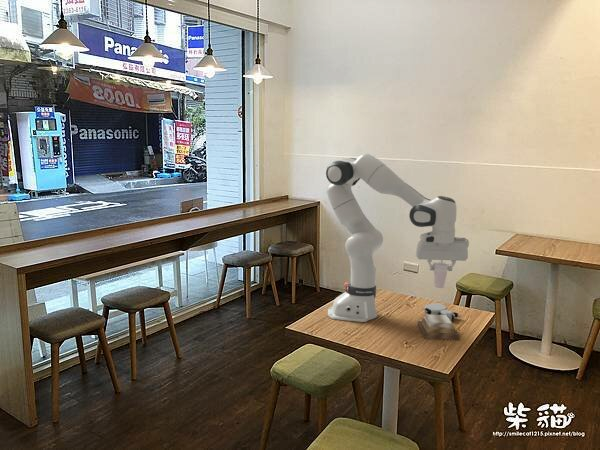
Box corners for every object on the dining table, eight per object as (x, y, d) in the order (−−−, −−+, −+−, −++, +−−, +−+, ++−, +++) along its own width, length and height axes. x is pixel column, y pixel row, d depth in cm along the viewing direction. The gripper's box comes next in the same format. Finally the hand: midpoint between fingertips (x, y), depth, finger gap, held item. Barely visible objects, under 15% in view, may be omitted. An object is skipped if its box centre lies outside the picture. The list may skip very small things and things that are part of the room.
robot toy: (462, 322, 222) (437, 309, 234) (464, 312, 221) (438, 300, 233) (443, 327, 215) (418, 313, 228) (444, 317, 214) (419, 304, 227)
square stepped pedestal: (424, 338, 200) (425, 324, 199) (417, 325, 214) (418, 312, 213) (459, 339, 200) (460, 325, 199) (449, 326, 214) (450, 313, 213)
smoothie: (449, 286, 203) (452, 253, 200) (443, 290, 198) (446, 255, 195) (434, 283, 207) (437, 250, 204) (428, 286, 202) (430, 253, 199)
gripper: (466, 236, 201) (464, 269, 204) (416, 234, 202) (414, 267, 205) (471, 239, 195) (468, 273, 198) (419, 237, 196) (417, 271, 198)
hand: (440, 270), depth 201 cm, fingers closed on smoothie, 6 cm apart
